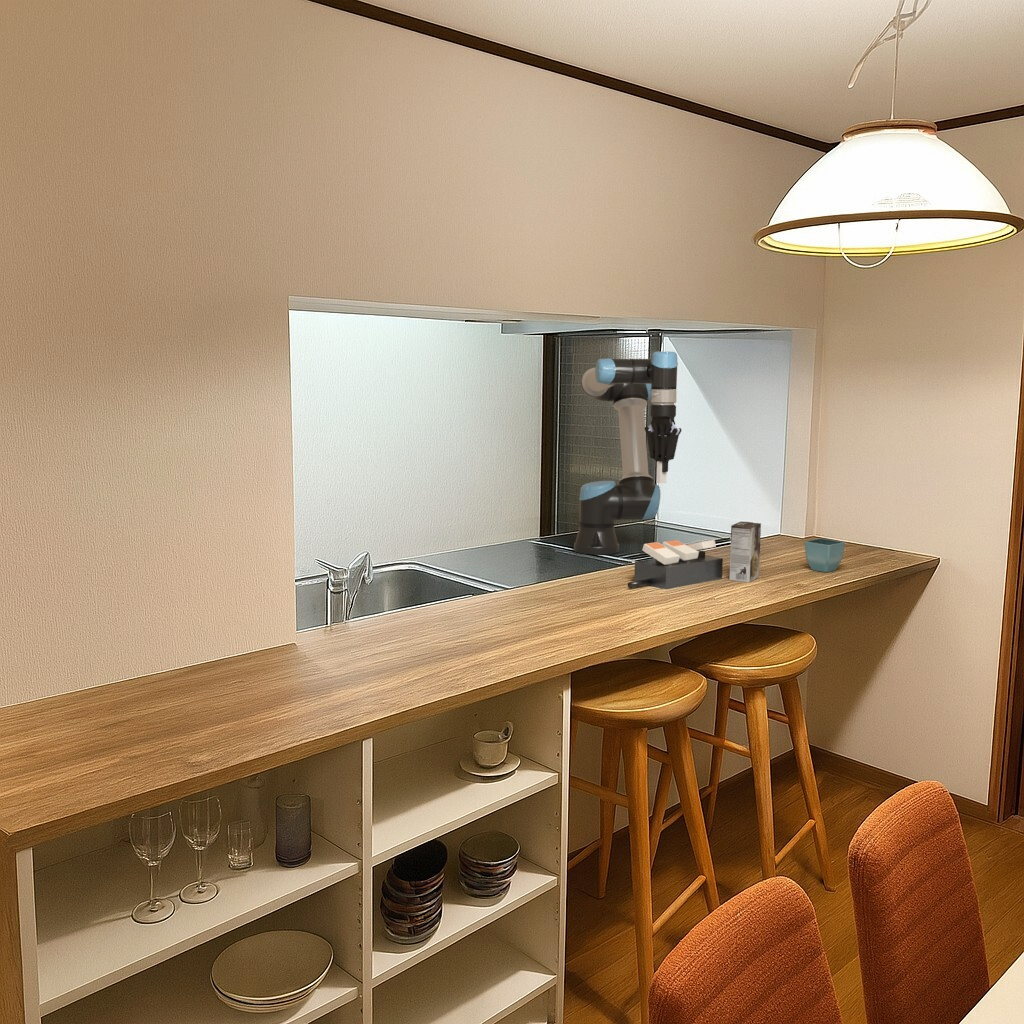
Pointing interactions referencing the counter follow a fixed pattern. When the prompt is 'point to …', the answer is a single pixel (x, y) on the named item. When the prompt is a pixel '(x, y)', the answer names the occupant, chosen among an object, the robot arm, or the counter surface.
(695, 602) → the counter surface
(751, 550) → the coffee box
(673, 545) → the rocker
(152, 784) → the counter surface
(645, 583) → the dark gray long block
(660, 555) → the rocker
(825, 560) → the flower pot
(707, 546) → the rocker
